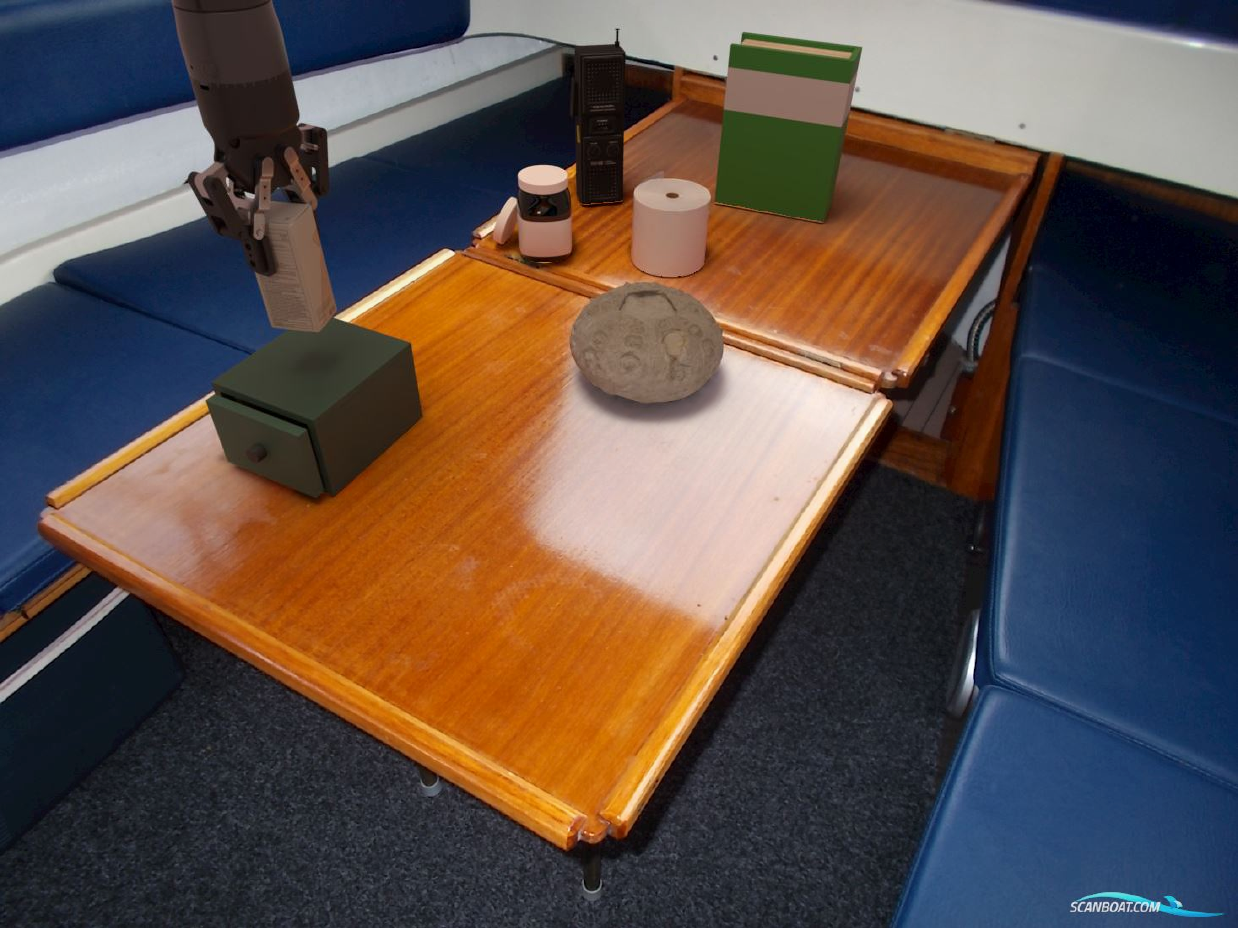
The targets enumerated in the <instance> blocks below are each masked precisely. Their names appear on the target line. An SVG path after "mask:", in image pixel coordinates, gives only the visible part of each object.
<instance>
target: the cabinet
mask: <svg viewBox="0 0 1238 928" xmlns="http://www.w3.org/2000/svg"><path fill="white" fill-rule="evenodd" d="M412 347H413V346H412V343H411V341H408V340H404V339H401V338H399V337H395V336H392V335H388V334H386V333H383V332H380V331H376V330H374V329H371V328H368V327H364V326H360V325H358V324H354V323H352V322H348V321H346V320H342V319H339V318H336V317H333V316H332V318H331V319H330V320H329V321H328V323H327V324H326V325H325V326H324V327H323V328H322V330H321V331H320V332H310V331H309V332H308V331H299V330H288V329H286V331H284V332H283V333H281V334H280V335H278V336H277V337H275V338H274V339H272V340H270V341H269V342H268V343H266V344H265V345H263V346H262V347H260V348H259V349H257V350H256V351H254V352H253V353H251V354H250V355H248V356H247V357H245V358H244V359H242V360H241V361H239V362H238V363H237V364H234V366H232V367H231V368H229V369H228V370H226V371H225V372H223V373H222V374H220V375H218V377H216V378H215V379H213V380H212V381H210V384H211V386H212V389H213V392H214V394H216V395H218V396H221V397H223V398H226V399H229V400H231V401H234V402H236V400H235V397H236V398H238V399H241V400H244V401H246V402H249V403H251V404H254V405H257V406H259V407H262V408H265V409H267V410H270V411H273V412H275V413H278V414H280V415H283V416H286V417H288V418H291V419H294V420H296V421H299V422H301V423H304V424H307V425H308V427H309V430H310V434H311V437H312V441H313V445H314V448H315V452H316V456H317V459H318V463H319V466H320V470H321V474H322V475H320V478H321V481H322V485H323V489H324V492H323V493H324V494H326V495H329V496H331V497H333V498H334V497H336V496H337V495H339V493H340V492H341V491H342V490H343V489H345V488H346V487H348V485H349V484H351V482H353V480H355V479H356V478H357V477H358V476H359V475H360V474H361V473H362V472H363V471H364V470H366V469H367V468H368V467H369V466H370V465H371V464H372V463H373V462H374V461H375V460H376V459H378V458H379V457H380V456H381V455H382V454H383V453H384V452H386V450H388V449H389V448H390V447H391V446H392V445H393V444H394V443H395V442H396V441H398V439H400V438H401V437H402V436H403V435H404V434H405V433H406V432H408V430H410V429H411V427H413V426H414V425H415V424H416V423H417V422H418V421H420V420H421V418H423V416H424V415H423V409H422V404H421V397H420V390H419V385H418V384H419V383H418V377H417V372H416V367H415V366H416V365H415V359H414V353H413V348H412ZM323 493H322V494H323Z"/></svg>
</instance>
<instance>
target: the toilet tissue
mask: <svg viewBox="0 0 1238 928" xmlns="http://www.w3.org/2000/svg"><path fill="white" fill-rule="evenodd" d="M664 175H665V170H664V169H663V170H661V171H658V172H655V173H654V174H652V175H650V176H649V177H646V178H645V179H643V180H642V182H640V183H639V184H637V186H636V187H635V188H634V191H633V196H632V197H633V201H632V219H631V220H632V221H631V222H632V223H631V227H632V229H631V250H630V255H631V257H630V259H631V263H632V264H633V266H634V267H635V268H637V269H638V270H640V271H641V272H643V271H644V273H646V274H648V275H651V276H655V277H661V276H662V277H663V278H679V277H678V276H681V277H685V276H689V275H692V274H695V273H697V272H699V270H701V269H702V268H703V267H704V266H705V262H704V261H705V259H706V250H707V238H708V233H709V232H708V228H709V218H710V211H711V210H710V209H711V197H712V196H711V193H710V191H709V189H708V188H707V187H705V186H703V185H702V184H700V183H697V182H695V181H692V180H687V179H682V178H672V177H671V178H664ZM696 271H697V272H696ZM694 272H695V273H694Z"/></svg>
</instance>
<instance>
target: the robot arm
mask: <svg viewBox="0 0 1238 928" xmlns="http://www.w3.org/2000/svg"><path fill="white" fill-rule="evenodd" d="M170 2H171V5H172V10H173V13H174V14H173V15H174V19H175V26H176V33H177V38H178V42H179V46H180V49H181V53H182V56H183V60H184V64H185V67H186V70H187V73H188V77H189V80H190V83H191V87H192V90H193V93H194V97H195V101H196V104H197V107H198V111H199V115H200V118H201V122H202V124H203V127H204V128H205V130H206V131H207V133H208V134H209V135H210V137H211V140H212V141H213V147H214V149H213V163H212V164H211V165H210V166H208V167H207V168H206V169H205V170H204V171H202V172H198V171H191V172H190V173H189V174H188V176H187V182H188V185H189V187H190V188H191V190H192V191H193V194H194V196H195V198H196V199H197V201H198V203H199V205H200V206H201V208H202V210H203V212H204V214H205V216H206V217H207V219H208V220H209V223H210V225H211V226H212V228H213V230H214V232H215V234H216V235H217V236H221V237H225V238H230V239H233V240H235V241H236V242H237V241H238V242H240V243H241V246H242V250H243V253H244V257H245V259H246V264H247V266H248V268H249V269H250V270H251V271H254V273H255V272H256V273H258V274H261V275H264V276H267V277H270V276H272V275H274V274H275V273H276V272H277V270H276V266H275V262H274V258H273V255H272V251H271V247H270V243H269V240H268V236H264V235H265V214H266V212H268V211H269V210H270V201H271V195H272V194H273V193H274V192H275V191H276V190H278V189H279V190H280V191H281V193H282V194H283V196H284V198H285V199H286V202H287V203H298V204H310V205H311V207H312V211H313V215H314V219H315V223H316V227H317V231H318V235H319V240H320V241H321V235H322V234H321V229H320V224H319V221H318V216H317V212H316V211H317V210H316V209H317V207H318V202H319V200H320V199H321V197H326V196H327V197H328V195H329V193H330V165H329V143H328V140H329V139H328V131H327V129H326V128H325V127H323V126H322V127H321V126H317V125H312V124H308V123H306V122H305V123H304V122H299V121H300V119H301V117H300V116H301V113H300V109H299V104H298V100H297V95H296V90H295V85H294V80H293V76H292V71H291V67H290V63H289V58H288V52H287V49H286V44H285V40H284V35H283V31H282V26H281V24H280V20H279V18H278V16H277V13H276V10H275V6H274V4H273V0H170ZM313 169H314V171H315V179H314V178H313ZM227 179H228V183H227ZM246 193H247V194H249V195H253V196H254V198H251V197H248V196H247V195H246ZM249 211H250V222H248V212H249Z"/></svg>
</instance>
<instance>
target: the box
mask: <svg viewBox="0 0 1238 928" xmlns="http://www.w3.org/2000/svg"><path fill="white" fill-rule="evenodd" d="M248 222H250V211H249V210H248ZM264 236H268V240H269V243H270V247H271V251H272V255H273V258H274V262H275V266H276V270H277V272H276V273H275V274H274V275H272V276H270V277H267V276H264V275H261V274H258V273H256V272H255V271H254V275H255V278H256V281H257V284H258V287H259V291H260V295H261V297H262V300H263V304H264V307H265V311H266V313H267V317H268V320H269V324H270V327H271V328H273V329H281V330H299V331H308V332H309V331H310V332H320V331H321V330H322V328H323V327H324V326H325V325H326V324H327V323H328V321H329V320H330V319H331V318H332V317H333V316H335V314H336V313H337V311H338V309H337V304H336V300H335V297H334V292H333V288H332V283H331V280H330V276H329V272H328V269H327V264H326V260H325V256H324V252H323V247H322V244H321V239H320V240H319V235H318V231H317V227H316V223H315V219H314V215H313V211H312V207H311V205H310V204H298V203H289V202H288V201H286V202H285V201H275V200H270V210H269V211H268V212H266V214H265V235H264Z"/></svg>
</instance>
